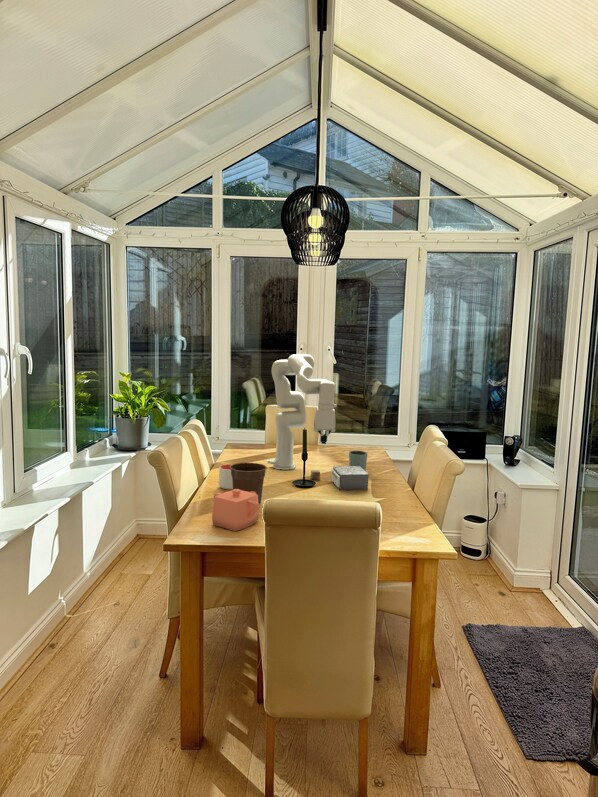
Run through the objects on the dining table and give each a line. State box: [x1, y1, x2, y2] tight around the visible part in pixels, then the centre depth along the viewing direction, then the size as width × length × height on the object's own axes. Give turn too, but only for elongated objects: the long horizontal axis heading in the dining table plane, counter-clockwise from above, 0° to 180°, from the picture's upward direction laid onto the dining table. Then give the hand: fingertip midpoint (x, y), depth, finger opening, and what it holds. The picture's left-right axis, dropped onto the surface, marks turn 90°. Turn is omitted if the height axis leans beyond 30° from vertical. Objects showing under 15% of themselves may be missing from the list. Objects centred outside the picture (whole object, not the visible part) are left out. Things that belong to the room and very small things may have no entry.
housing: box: [332, 465, 370, 491], centre depth 273 cm, size 14×16×8 cm
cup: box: [218, 464, 233, 490], centre depth 263 cm, size 10×10×10 cm
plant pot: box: [230, 462, 268, 505], centre depth 241 cm, size 16×16×16 cm
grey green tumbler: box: [348, 450, 368, 472], centre depth 296 cm, size 10×10×12 cm
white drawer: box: [330, 468, 340, 489], centre depth 273 cm, size 13×15×6 cm
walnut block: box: [310, 469, 321, 481], centre depth 283 cm, size 4×4×4 cm
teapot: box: [211, 489, 260, 532], centre depth 216 cm, size 20×22×14 cm
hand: (323, 443), depth 269 cm, fingers closed
